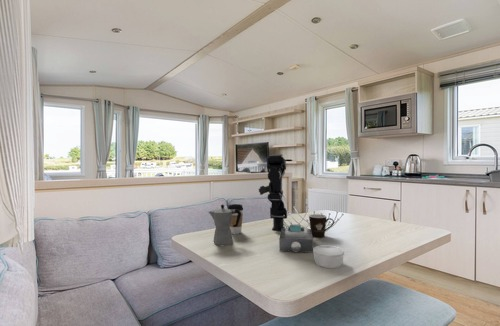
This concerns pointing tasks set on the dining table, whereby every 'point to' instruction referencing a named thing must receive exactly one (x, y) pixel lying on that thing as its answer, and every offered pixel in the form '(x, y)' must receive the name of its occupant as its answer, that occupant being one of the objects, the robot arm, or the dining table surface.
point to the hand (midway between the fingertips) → (276, 211)
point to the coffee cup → (234, 217)
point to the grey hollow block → (296, 240)
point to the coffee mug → (318, 225)
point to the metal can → (295, 227)
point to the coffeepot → (224, 225)
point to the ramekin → (328, 256)
